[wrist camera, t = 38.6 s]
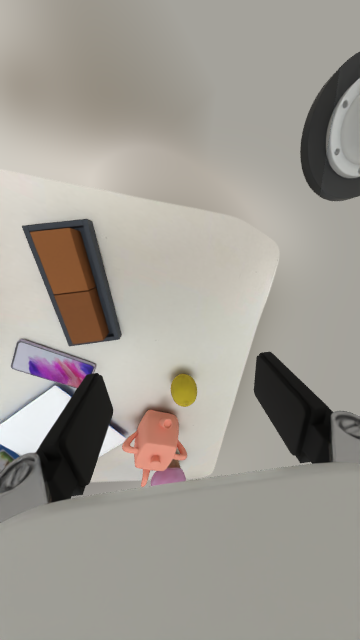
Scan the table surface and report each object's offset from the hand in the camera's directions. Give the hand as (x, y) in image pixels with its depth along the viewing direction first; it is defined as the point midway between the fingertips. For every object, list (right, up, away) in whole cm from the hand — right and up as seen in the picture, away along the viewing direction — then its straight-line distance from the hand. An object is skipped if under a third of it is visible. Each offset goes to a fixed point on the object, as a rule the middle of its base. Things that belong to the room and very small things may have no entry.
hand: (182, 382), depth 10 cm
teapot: (-6, -23, +34) cm, 42 cm away
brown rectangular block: (-18, +14, +19) cm, 30 cm away
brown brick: (-17, +5, +22) cm, 29 cm away
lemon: (0, -10, +30) cm, 31 cm away
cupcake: (-4, -35, +39) cm, 53 cm away
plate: (-29, -24, +33) cm, 50 cm away
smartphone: (-26, -6, +26) cm, 37 cm away
